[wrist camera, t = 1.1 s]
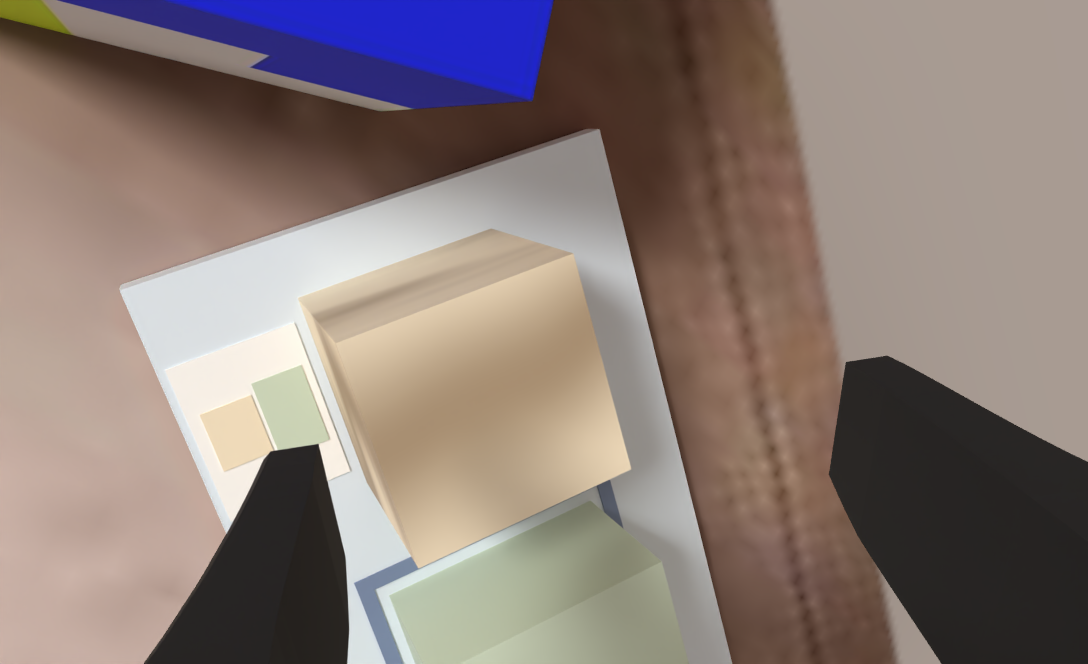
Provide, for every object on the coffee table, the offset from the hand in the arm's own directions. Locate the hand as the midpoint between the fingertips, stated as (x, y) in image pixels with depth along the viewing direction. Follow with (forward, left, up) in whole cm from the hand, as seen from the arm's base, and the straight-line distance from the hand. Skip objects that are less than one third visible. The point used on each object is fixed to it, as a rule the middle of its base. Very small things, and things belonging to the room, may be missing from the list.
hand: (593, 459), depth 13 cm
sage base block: (-8, -6, -11) cm, 15 cm away
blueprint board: (-5, -4, -12) cm, 13 cm away
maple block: (-1, -1, -11) cm, 11 cm away
